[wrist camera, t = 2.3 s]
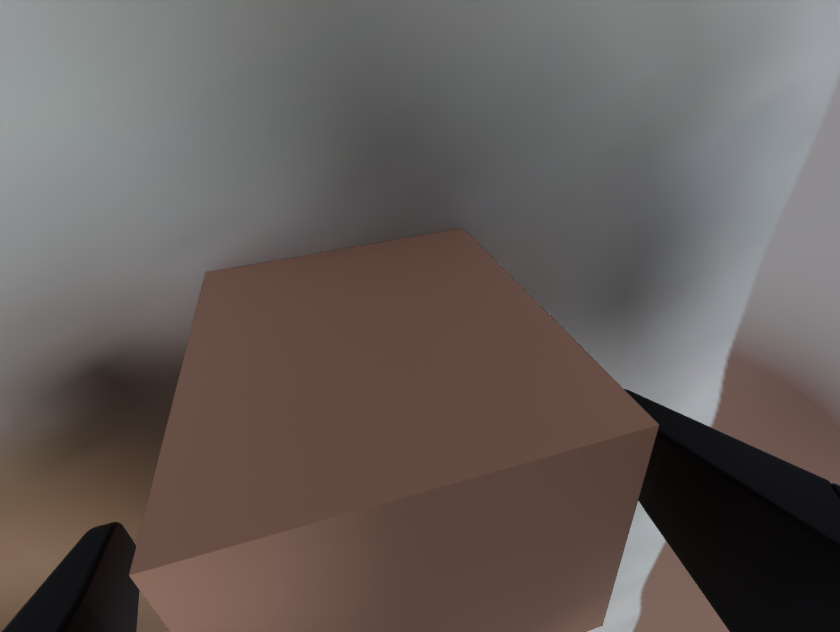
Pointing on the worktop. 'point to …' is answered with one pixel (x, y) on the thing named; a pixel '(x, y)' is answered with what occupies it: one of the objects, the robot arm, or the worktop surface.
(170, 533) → the cabinet block
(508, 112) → the worktop surface
